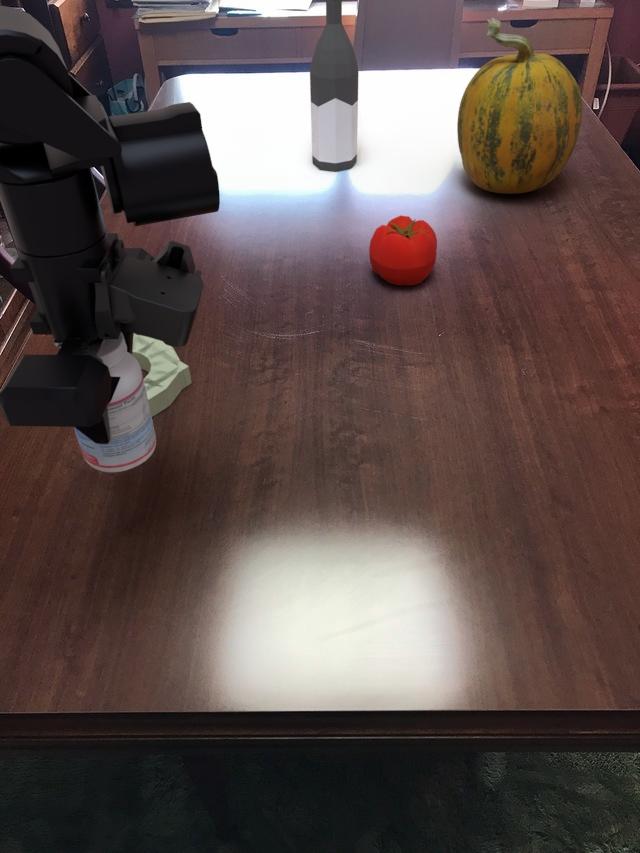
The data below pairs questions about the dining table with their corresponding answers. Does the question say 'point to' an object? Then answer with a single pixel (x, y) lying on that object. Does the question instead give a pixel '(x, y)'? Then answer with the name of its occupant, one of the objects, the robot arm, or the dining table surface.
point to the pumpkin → (518, 118)
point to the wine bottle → (334, 95)
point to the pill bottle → (122, 415)
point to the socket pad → (160, 372)
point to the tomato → (403, 251)
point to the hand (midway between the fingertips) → (113, 415)
